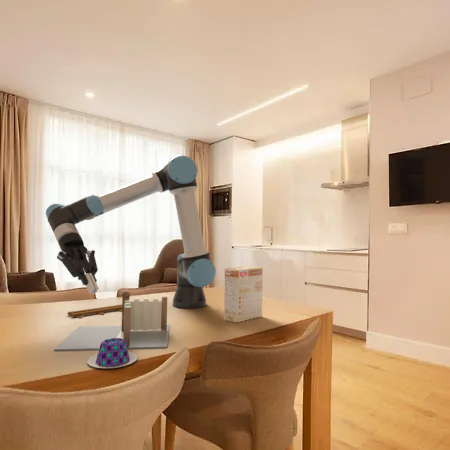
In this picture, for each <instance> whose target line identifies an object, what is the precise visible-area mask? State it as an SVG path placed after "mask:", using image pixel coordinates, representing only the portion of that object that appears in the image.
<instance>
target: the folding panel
mask: <svg viewBox="0 0 450 450" xmlns="http://www.w3.org/2000/svg"><path fill="white" fill-rule="evenodd" d="M130 301H131V300H130V299H129V300H128V301H125V302H124V336H123V339H124V340H125V341H126V345H127V346H129V345H130V324H131V306H130Z"/></svg>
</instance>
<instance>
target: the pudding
mask: <svg viewBox="0 0 450 450" xmlns="http://www.w3.org/2000/svg"><path fill="white" fill-rule="evenodd" d="M138 357H139V356H138V355H137V354H136V353H135V352H132V351H129V349H127V345H126V341H125V340H124V339H121V338H110V339H106V340H104V341H103V342H102V343H101V345H100V348H99V350H98V352H97V354H95V355H92V356H91V357H90V358H88V359H87V364H88V365H89V366H91V367H92V368H98V369H116V368H122V367H125V366H128V365H131V364H133V363H134V362H136V361H137V360H138ZM95 361H96V362H95ZM95 364H96V365H95ZM97 365H99V366H97Z"/></svg>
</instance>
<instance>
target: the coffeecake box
mask: <svg viewBox="0 0 450 450" xmlns="http://www.w3.org/2000/svg"><path fill="white" fill-rule="evenodd" d="M223 313H224V317H223V319H225V321H227V320H229V321H228V322H231V321H232V322H231V323H235V322H236V324H238V323H242V322H246V321H249V319H250V320H254V319H257V317H258V318H261V316H262V317H263V267H259V266H253V265H252V266H251V265H250V266H239V267H228V268H224V309H223ZM253 318H254V319H253ZM245 320H246V321H245ZM241 321H242V322H241ZM237 322H238V323H237Z"/></svg>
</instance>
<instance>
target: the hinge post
mask: <svg viewBox="0 0 450 450" xmlns="http://www.w3.org/2000/svg"><path fill="white" fill-rule="evenodd" d="M121 297H122V298H121V301H122V302H121V303H122V304H121V305H122V312H121V326H122V331H123V332H124V302H125V301H128V300H129V301H130V298H131V294H130V292H129V291H123V292H122V294H121Z"/></svg>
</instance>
